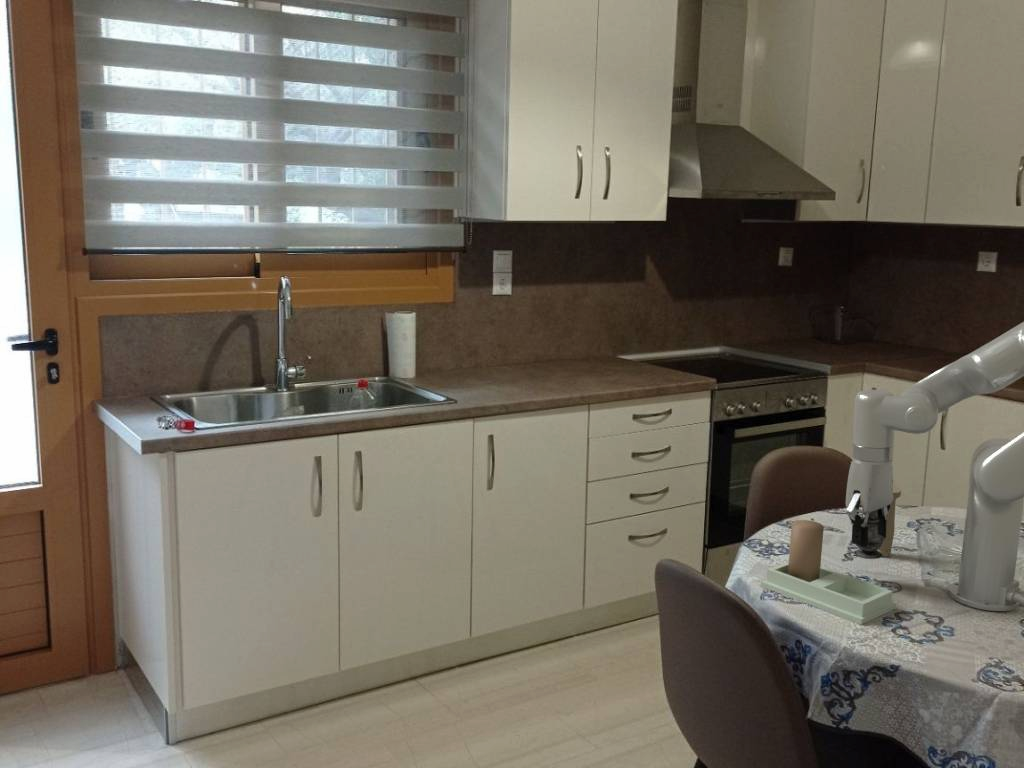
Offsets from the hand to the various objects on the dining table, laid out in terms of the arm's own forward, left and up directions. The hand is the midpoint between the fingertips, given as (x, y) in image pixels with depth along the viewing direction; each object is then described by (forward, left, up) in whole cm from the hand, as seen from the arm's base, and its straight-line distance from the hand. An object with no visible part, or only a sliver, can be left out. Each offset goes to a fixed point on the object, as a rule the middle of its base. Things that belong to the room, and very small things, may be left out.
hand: (868, 539), depth 199 cm
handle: (+6, -16, -9) cm, 20 cm away
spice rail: (0, +13, -9) cm, 16 cm away
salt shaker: (0, 0, -3) cm, 3 cm away
